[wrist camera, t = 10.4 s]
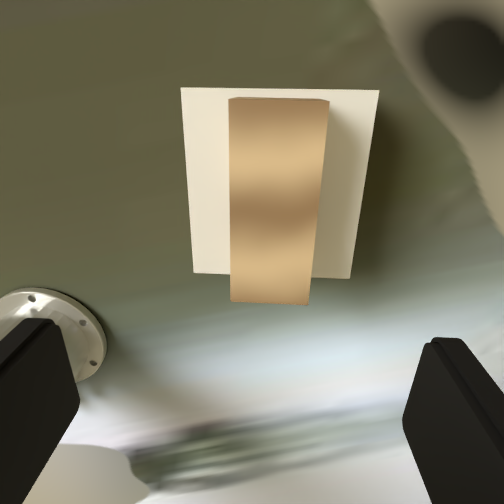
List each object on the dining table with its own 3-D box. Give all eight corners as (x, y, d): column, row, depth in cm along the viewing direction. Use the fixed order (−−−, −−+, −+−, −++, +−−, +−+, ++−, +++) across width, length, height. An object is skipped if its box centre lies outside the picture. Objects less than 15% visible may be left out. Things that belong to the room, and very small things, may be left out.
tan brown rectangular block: (299, 248, 30) (307, 305, 22) (241, 246, 30) (230, 301, 22) (312, 96, 24) (329, 101, 17) (242, 95, 25) (228, 99, 17)
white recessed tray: (336, 246, 31) (349, 278, 26) (207, 241, 32) (193, 272, 27) (357, 89, 26) (379, 90, 20) (199, 87, 26) (180, 87, 21)
